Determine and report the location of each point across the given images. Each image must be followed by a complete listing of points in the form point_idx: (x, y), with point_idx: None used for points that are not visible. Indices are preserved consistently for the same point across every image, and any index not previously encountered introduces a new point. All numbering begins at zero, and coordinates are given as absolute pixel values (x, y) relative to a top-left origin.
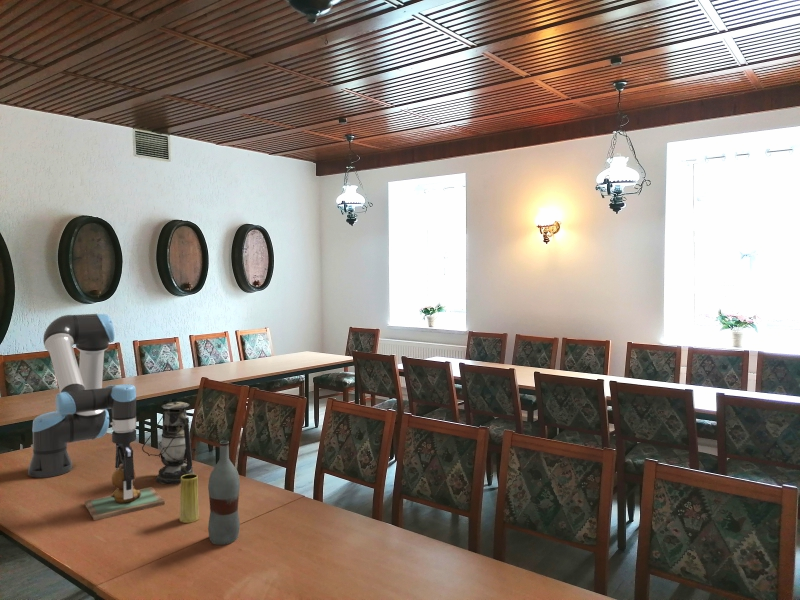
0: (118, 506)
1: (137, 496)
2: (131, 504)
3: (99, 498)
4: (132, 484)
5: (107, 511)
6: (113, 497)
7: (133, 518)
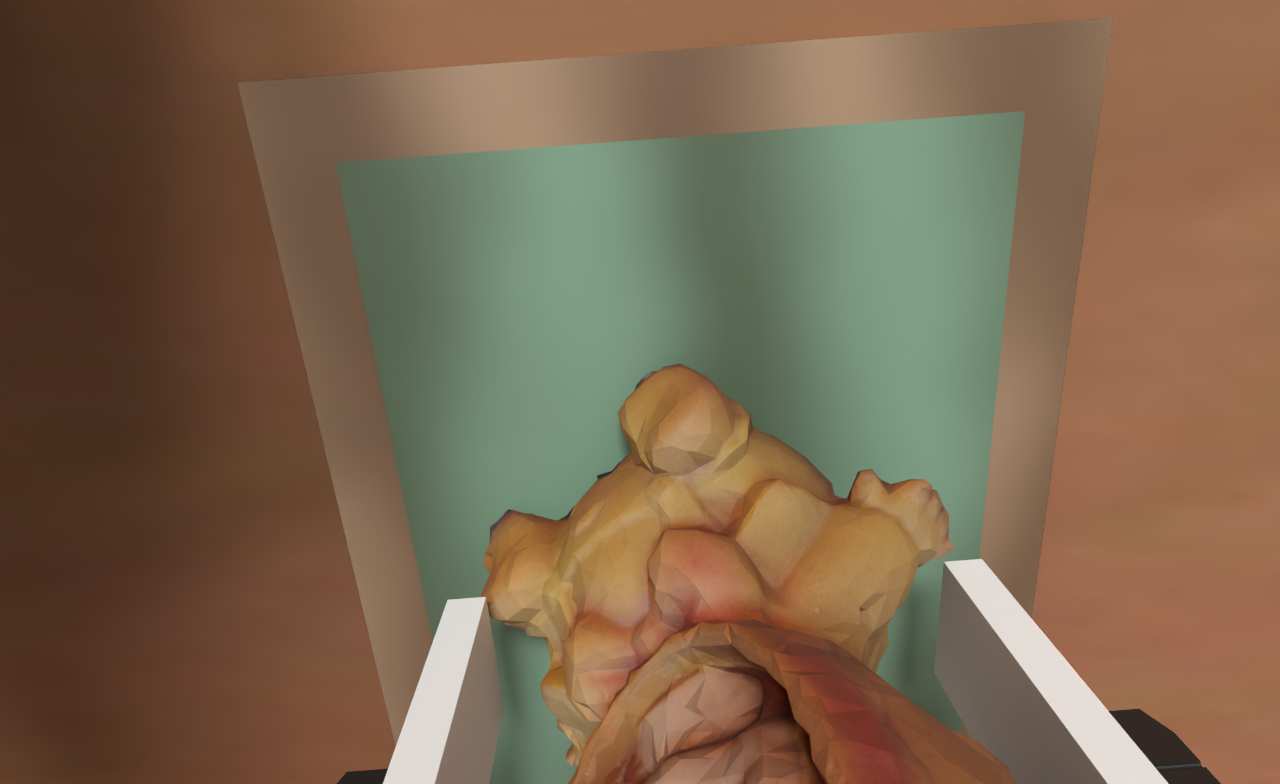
0: None
1: (753, 427)
2: None
3: None
4: (1141, 751)
5: None
6: None
7: (1238, 510)
